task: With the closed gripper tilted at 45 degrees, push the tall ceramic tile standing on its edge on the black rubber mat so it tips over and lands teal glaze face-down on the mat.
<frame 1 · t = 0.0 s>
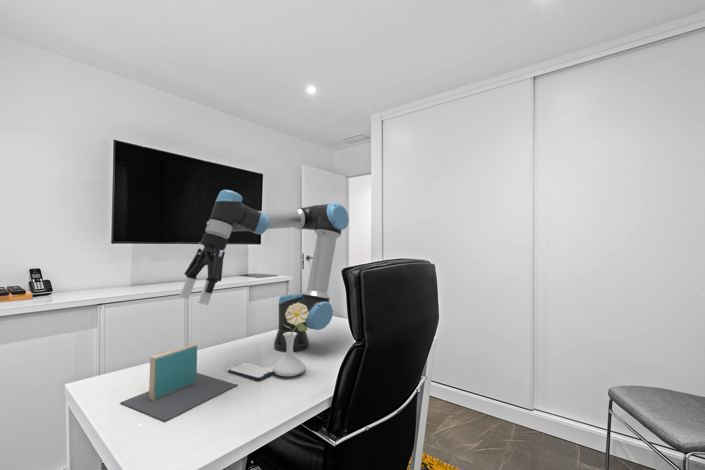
hand: (193, 301, 99), 28 cm above the table, tool tilted 20°, fingers open, 13 cm apart
tile: (174, 390, 99), resting on mat
smartphone: (251, 374, 114), on the table
flower in vase: (291, 374, 114), on the table
mat: (182, 394, 97), on the table
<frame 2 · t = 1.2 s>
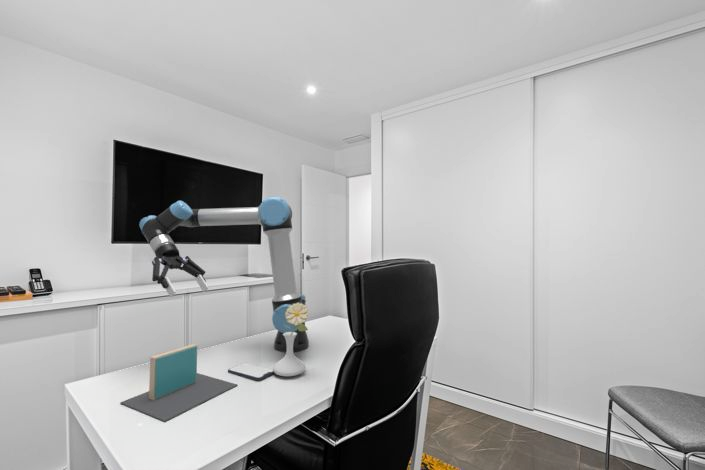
hand: (190, 292, 117), 28 cm above the table, tool tilted 45°, fingers open, 13 cm apart
nothing on the table moved.
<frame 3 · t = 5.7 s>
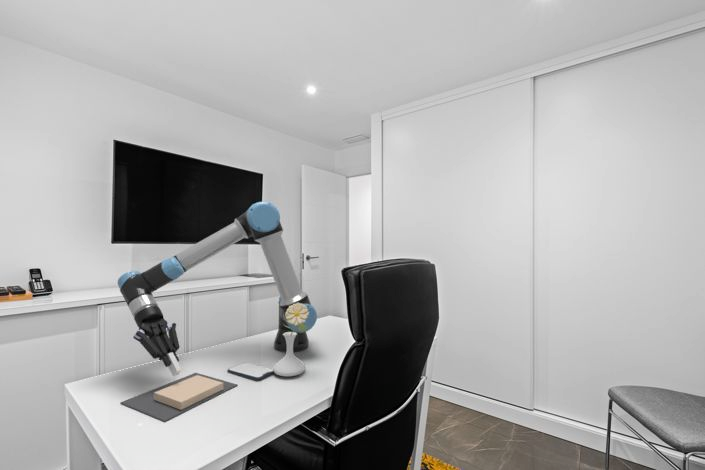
hand: (177, 373, 98), 6 cm above the table, tool tilted 45°, fingers closed
tile: (176, 386, 99), point 2 cm above the table, tilted 90°, touching mat
everything else where it was.
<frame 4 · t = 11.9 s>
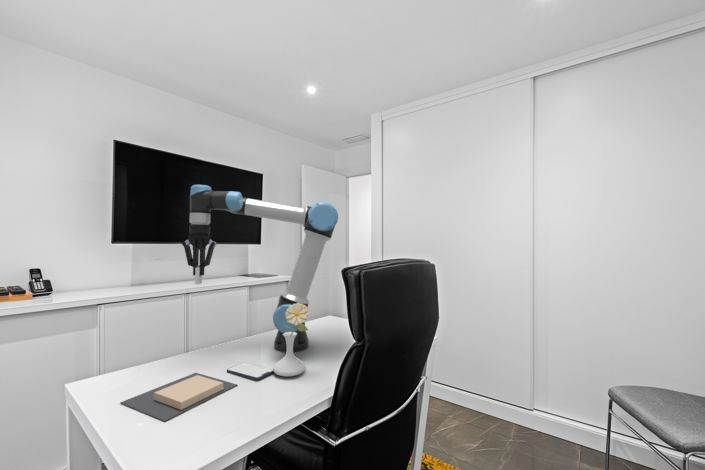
hand: (198, 283, 128), 29 cm above the table, tool pointing down, fingers closed
nothing on the table moved.
at the end: tile tilted 90°; tile 2.7 cm from the mat (horizontally); tile touching mat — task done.
